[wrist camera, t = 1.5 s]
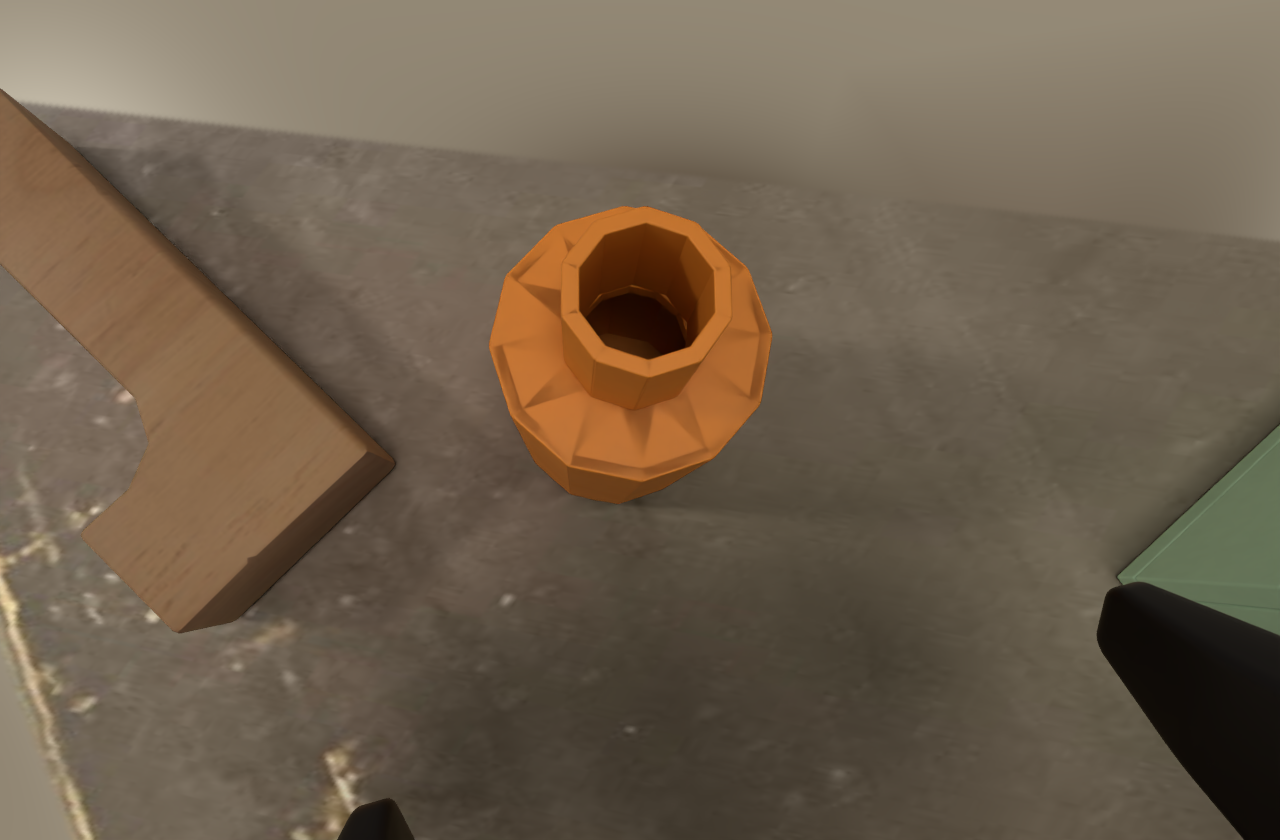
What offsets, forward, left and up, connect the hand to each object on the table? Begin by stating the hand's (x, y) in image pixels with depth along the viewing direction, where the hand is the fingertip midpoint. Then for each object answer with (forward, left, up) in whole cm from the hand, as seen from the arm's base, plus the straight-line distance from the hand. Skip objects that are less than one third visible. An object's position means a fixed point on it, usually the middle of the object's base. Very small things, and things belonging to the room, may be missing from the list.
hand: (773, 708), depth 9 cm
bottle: (+6, -1, -14) cm, 16 cm away
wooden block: (+5, +9, -13) cm, 16 cm away
